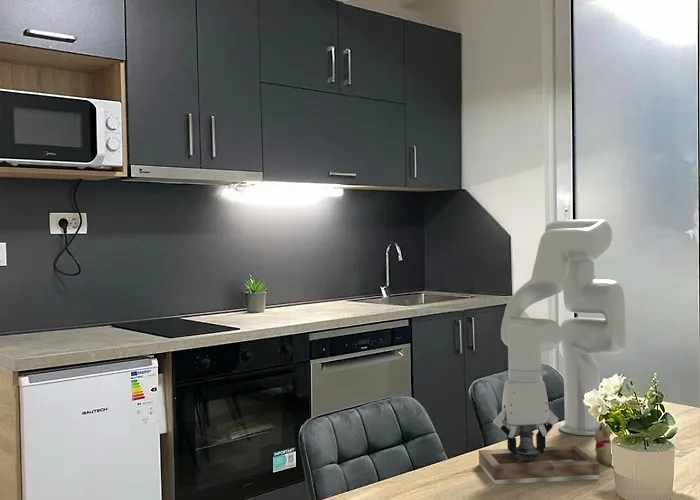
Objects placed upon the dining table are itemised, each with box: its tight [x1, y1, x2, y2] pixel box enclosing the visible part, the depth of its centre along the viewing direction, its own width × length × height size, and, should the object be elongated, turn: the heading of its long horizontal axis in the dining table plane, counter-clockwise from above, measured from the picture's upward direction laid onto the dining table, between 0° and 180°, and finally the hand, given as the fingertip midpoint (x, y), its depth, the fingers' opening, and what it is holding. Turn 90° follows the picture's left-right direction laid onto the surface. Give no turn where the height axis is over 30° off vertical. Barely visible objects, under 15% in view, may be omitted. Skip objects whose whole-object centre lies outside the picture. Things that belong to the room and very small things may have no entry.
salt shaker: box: [516, 425, 540, 463], centre depth 168 cm, size 6×6×12 cm
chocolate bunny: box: [594, 422, 613, 467], centre depth 175 cm, size 6×8×10 cm
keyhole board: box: [478, 445, 600, 485], centre depth 168 cm, size 24×14×4 cm, turn 94°
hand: (526, 451), depth 168 cm, fingers closed on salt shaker, 5 cm apart
